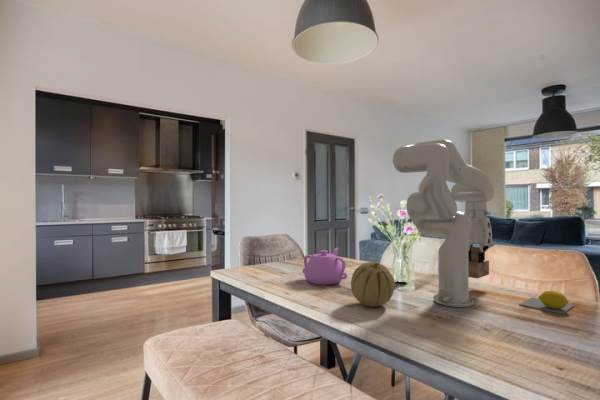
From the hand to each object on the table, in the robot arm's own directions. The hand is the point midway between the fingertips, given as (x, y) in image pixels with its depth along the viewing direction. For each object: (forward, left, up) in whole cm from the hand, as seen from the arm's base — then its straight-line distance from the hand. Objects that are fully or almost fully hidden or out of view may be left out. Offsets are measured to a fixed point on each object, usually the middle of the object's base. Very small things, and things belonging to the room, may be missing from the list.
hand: (476, 261), depth 136 cm
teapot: (-33, +50, -12) cm, 61 cm away
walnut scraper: (0, 0, -6) cm, 6 cm away
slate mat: (-3, -24, -11) cm, 27 cm away
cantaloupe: (-46, +14, -12) cm, 50 cm away
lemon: (-6, -22, -8) cm, 25 cm away
